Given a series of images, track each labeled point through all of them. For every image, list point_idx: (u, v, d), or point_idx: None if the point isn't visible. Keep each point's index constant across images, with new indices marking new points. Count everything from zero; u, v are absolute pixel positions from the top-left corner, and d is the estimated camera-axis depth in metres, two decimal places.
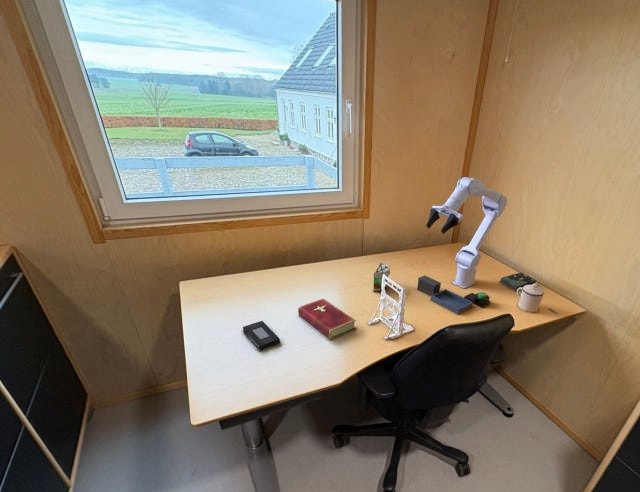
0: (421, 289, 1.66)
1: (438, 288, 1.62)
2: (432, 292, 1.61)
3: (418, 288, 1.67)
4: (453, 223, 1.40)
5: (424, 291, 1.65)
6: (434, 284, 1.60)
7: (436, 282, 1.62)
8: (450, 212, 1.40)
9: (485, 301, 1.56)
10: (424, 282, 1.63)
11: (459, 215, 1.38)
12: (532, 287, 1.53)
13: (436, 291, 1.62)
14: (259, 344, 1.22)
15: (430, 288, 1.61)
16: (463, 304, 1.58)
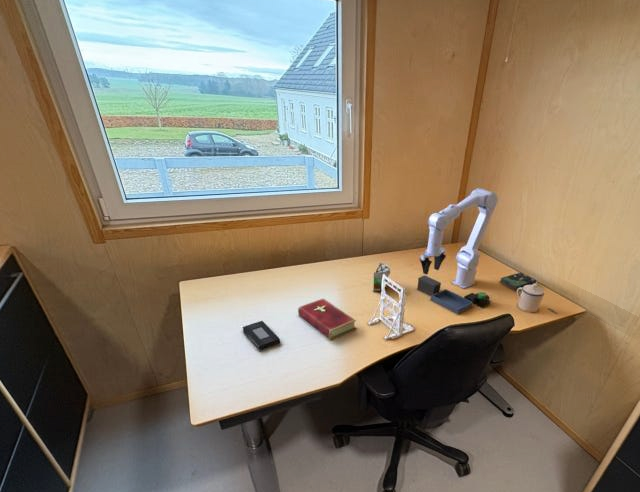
0: (421, 289, 1.66)
1: (438, 288, 1.62)
2: (432, 292, 1.61)
3: (418, 288, 1.67)
4: None
5: (424, 291, 1.65)
6: (434, 284, 1.60)
7: (436, 282, 1.62)
8: None
9: (485, 301, 1.56)
10: (424, 282, 1.63)
11: None
12: (532, 287, 1.53)
13: (436, 291, 1.62)
14: (259, 344, 1.22)
15: (430, 288, 1.61)
16: (463, 304, 1.58)
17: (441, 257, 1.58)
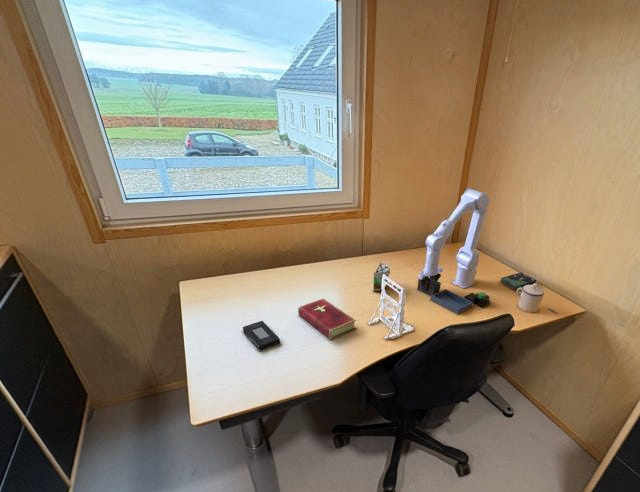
0: (421, 289, 1.66)
1: (438, 288, 1.62)
2: (432, 292, 1.61)
3: (418, 288, 1.67)
4: None
5: (424, 291, 1.65)
6: (434, 284, 1.60)
7: (436, 282, 1.62)
8: None
9: (485, 301, 1.56)
10: None
11: None
12: (532, 287, 1.53)
13: (436, 291, 1.62)
14: (259, 344, 1.22)
15: (430, 288, 1.61)
16: (463, 304, 1.58)
17: (436, 276, 1.62)
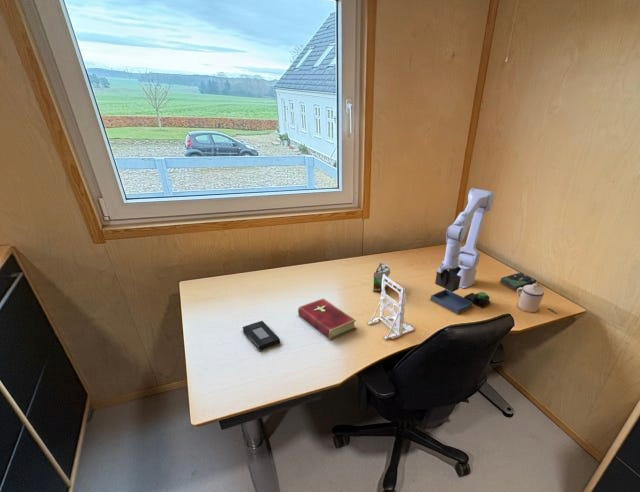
0: (439, 283, 1.56)
1: (458, 282, 1.52)
2: (452, 286, 1.52)
3: (436, 282, 1.57)
4: None
5: None
6: (454, 278, 1.50)
7: (456, 276, 1.52)
8: None
9: (485, 301, 1.56)
10: None
11: None
12: (532, 287, 1.53)
13: (456, 285, 1.52)
14: (259, 344, 1.22)
15: (450, 282, 1.52)
16: (463, 304, 1.58)
17: (456, 270, 1.53)
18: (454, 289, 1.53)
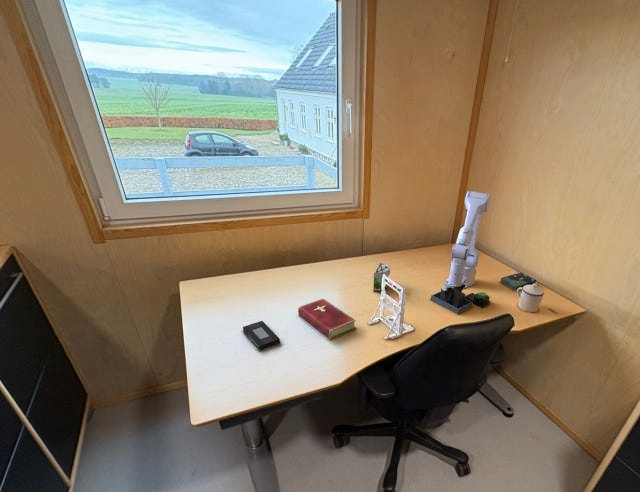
0: (444, 300, 1.57)
1: (462, 299, 1.54)
2: (456, 304, 1.53)
3: None
4: None
5: None
6: (458, 295, 1.52)
7: (460, 293, 1.53)
8: None
9: (485, 301, 1.56)
10: None
11: None
12: (532, 287, 1.53)
13: (460, 302, 1.54)
14: (259, 344, 1.22)
15: (454, 300, 1.53)
16: (463, 304, 1.58)
17: (460, 287, 1.54)
18: (458, 306, 1.54)
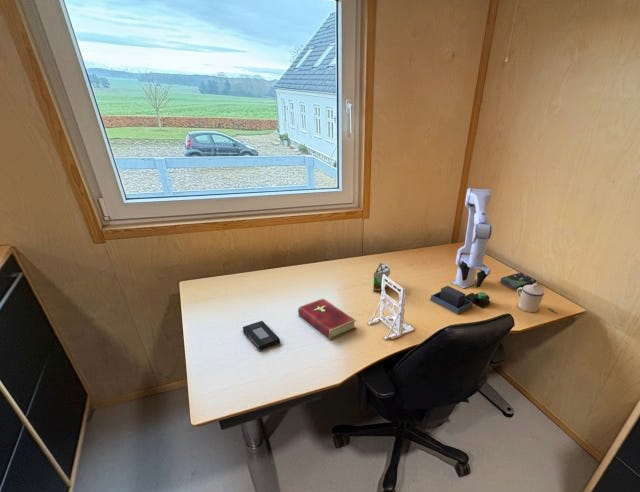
0: (444, 300, 1.57)
1: (462, 299, 1.54)
2: (456, 304, 1.53)
3: None
4: (484, 275, 1.47)
5: (447, 302, 1.56)
6: (458, 295, 1.52)
7: (460, 293, 1.53)
8: None
9: (485, 301, 1.56)
10: (447, 293, 1.54)
11: (486, 271, 1.44)
12: (532, 287, 1.53)
13: (460, 302, 1.54)
14: (259, 344, 1.22)
15: (454, 300, 1.53)
16: (463, 304, 1.58)
17: None
18: (458, 306, 1.54)
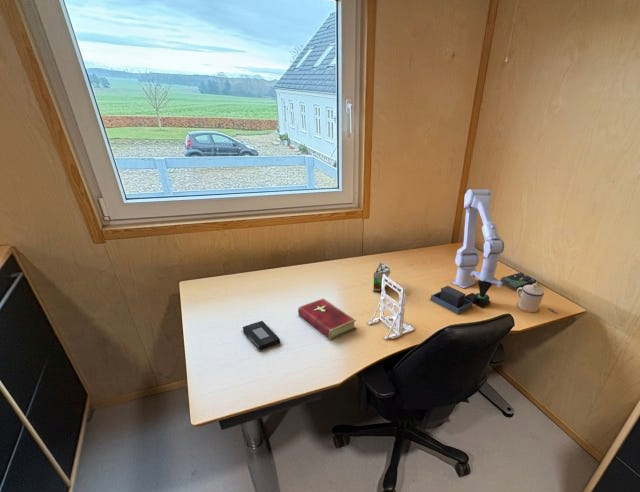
0: (444, 300, 1.57)
1: (462, 299, 1.54)
2: (456, 304, 1.53)
3: None
4: (489, 284, 1.55)
5: (447, 302, 1.56)
6: (458, 295, 1.52)
7: (460, 293, 1.53)
8: None
9: (485, 301, 1.56)
10: (447, 293, 1.54)
11: (498, 284, 1.49)
12: (532, 287, 1.53)
13: (460, 302, 1.54)
14: (259, 344, 1.22)
15: (454, 300, 1.53)
16: (463, 304, 1.58)
17: None
18: (458, 306, 1.54)
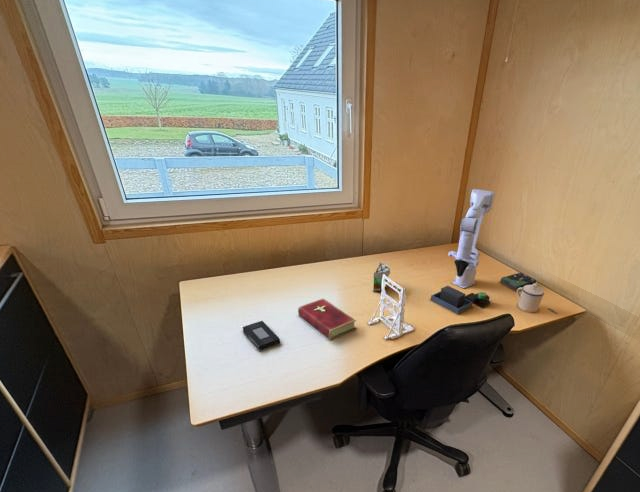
0: (444, 300, 1.57)
1: (462, 299, 1.54)
2: (456, 304, 1.53)
3: None
4: (466, 264, 1.55)
5: (447, 302, 1.56)
6: (458, 295, 1.52)
7: (460, 293, 1.53)
8: None
9: (485, 301, 1.56)
10: (447, 293, 1.54)
11: (474, 263, 1.50)
12: (532, 287, 1.53)
13: (460, 302, 1.54)
14: (259, 344, 1.22)
15: (454, 300, 1.53)
16: (463, 304, 1.58)
17: None
18: (458, 306, 1.54)
